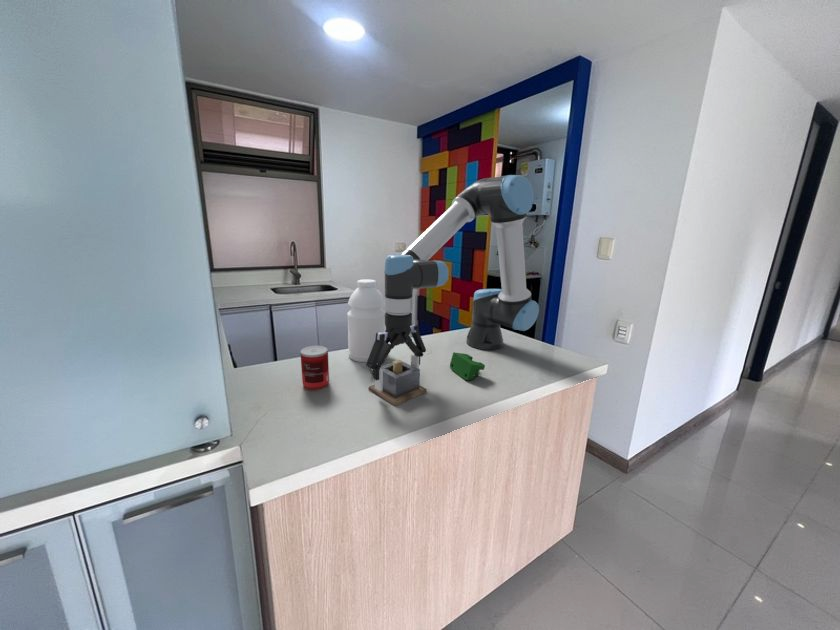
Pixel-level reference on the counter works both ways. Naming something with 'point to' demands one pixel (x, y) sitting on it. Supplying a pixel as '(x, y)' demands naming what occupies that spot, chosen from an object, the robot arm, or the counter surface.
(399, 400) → the post
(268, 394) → the counter surface
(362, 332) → the bottle
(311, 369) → the canned food
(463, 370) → the clamp
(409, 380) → the ring
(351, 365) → the counter surface
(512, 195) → the robot arm
